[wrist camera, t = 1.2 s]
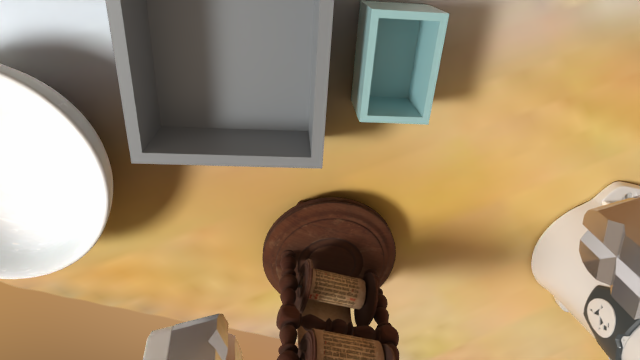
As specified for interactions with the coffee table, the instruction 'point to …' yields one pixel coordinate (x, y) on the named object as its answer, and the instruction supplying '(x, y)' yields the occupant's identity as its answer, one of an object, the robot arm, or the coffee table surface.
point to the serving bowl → (47, 179)
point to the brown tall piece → (331, 281)
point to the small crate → (397, 61)
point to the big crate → (223, 80)
